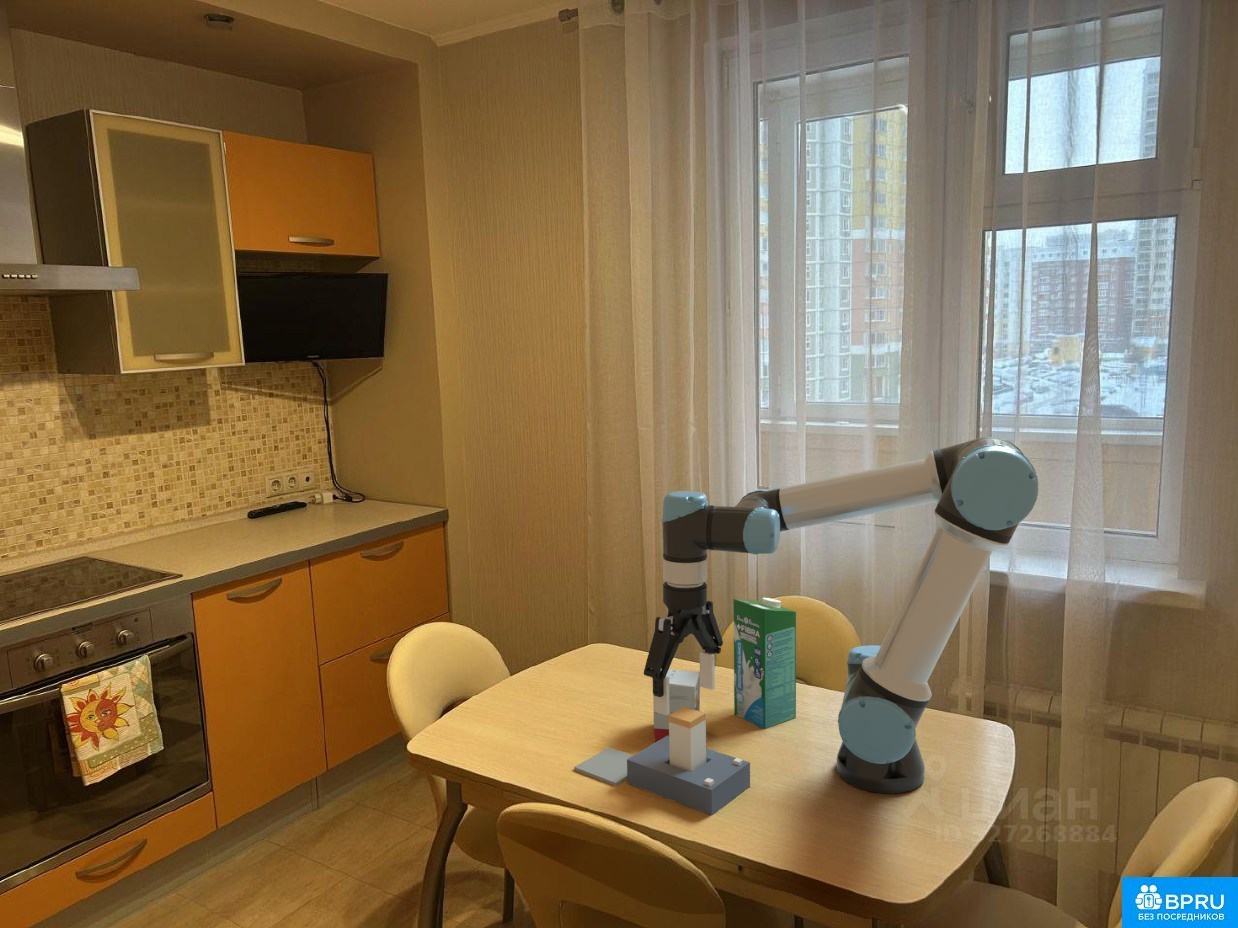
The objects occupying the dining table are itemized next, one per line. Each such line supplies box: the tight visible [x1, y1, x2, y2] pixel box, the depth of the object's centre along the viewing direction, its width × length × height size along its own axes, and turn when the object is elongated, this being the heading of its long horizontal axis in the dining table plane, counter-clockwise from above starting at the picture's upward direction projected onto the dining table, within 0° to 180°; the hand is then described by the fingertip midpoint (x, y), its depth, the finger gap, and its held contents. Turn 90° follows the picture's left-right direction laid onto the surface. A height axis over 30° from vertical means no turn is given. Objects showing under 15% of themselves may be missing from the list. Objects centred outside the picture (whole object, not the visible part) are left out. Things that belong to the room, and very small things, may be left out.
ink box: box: [652, 668, 701, 742], centre depth 182 cm, size 9×9×12 cm
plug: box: [669, 707, 707, 772], centre depth 160 cm, size 5×5×13 cm
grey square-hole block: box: [626, 736, 751, 816], centre depth 161 cm, size 18×12×5 cm, turn 50°
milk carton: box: [732, 597, 797, 730], centre depth 187 cm, size 9×9×25 cm
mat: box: [573, 746, 634, 787], centre depth 169 cm, size 10×10×1 cm
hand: (685, 700), depth 159 cm, fingers open, 13 cm apart
